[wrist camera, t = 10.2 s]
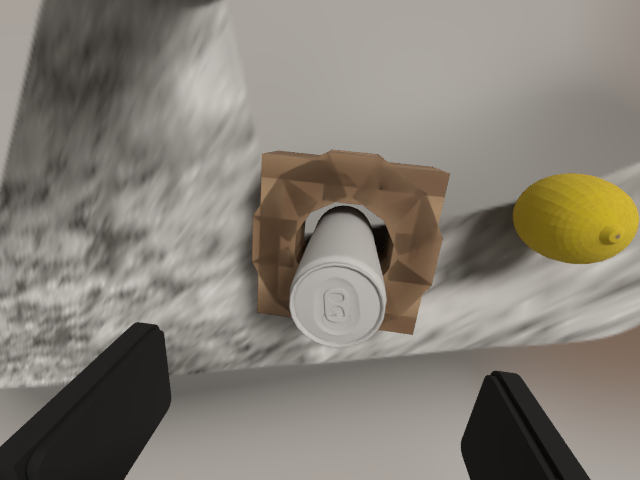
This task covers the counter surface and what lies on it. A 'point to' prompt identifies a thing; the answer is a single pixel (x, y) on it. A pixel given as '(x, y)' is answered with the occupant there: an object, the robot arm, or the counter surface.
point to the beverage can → (339, 282)
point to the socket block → (354, 188)
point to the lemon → (575, 218)
